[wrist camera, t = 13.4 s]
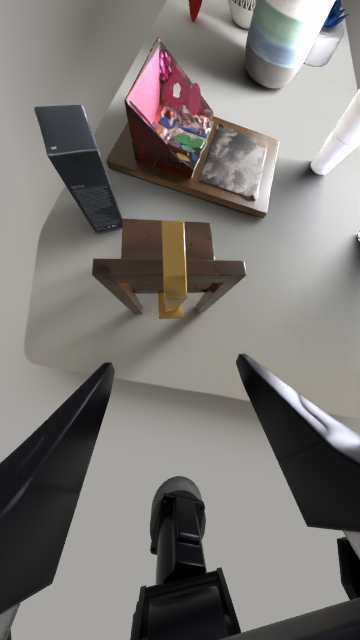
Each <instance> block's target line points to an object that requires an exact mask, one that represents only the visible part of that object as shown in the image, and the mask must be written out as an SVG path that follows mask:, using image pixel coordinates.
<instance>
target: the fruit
mask: <svg viewBox="0 0 360 640" xmlns="http://www.w3.org/2000/svg"><path fill="white" fill-rule="evenodd" d="M201 3H202V0H189V7H190V15H191V19H192V20H193V21H195V20H196V18H197V15H198V13H199V10H200V7H201Z"/></svg>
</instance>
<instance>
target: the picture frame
mask: <svg viewBox="0 0 360 640" xmlns="http://www.w3.org/2000/svg"><path fill="white" fill-rule="evenodd" d="M177 82H178V83H179V84H180V86H181V91H180V94H181V95H180V97H179V98H176V97H175V96H174V94H173V86H174V85H175V84H176V83H177ZM125 106H126V112H127V118H128V123H127V124H126V126H125V128H124V130H123V131H122V133H121V135H120V137H119V139H118V140H117V142H116V144H115V146H114V148H113V149H112V151H111V153H110V154H109V156H108V158H107V160H106V162H107V165H108V168H111V169H114V170H117V171H120V172H123V173H126V174H129V175H132V176H135V177H139V178H142V179H144V180H148V181H151V182H154V183H157V184H160V185H163V186H166V187H169V188H172V189H175V190H178V191H181V192H185V193H187V194H191V195H194V196H196V197H200V198H203V199H206V200H209V201H212V202H215V203H218V204H221V205H224V206H227V207H230V208H233V209H237V210H239V211H243V212H246V213H248V214H252V215H254V216H258V217H261V218H264V217H265V215H266V214H267V209H268V203H269V197H270V191H271V185H272V180H273V173H274V168H275V162H276V157H277V151H278V145H279V140H276V139H274V138H271V137H268V136H266V135H263V134H260V133H257V132H255V131H252V130H249V129H247V128H244V127H241V126H239V125H236V124H233V123H230V122H228V121H225V120H222V119H219V118H217V117H214V116H213V111H212V109H211V108H210V107H209V105H208V104H207V103H206V101H205V100H204V99H203V97H202V96H201V93H200V88H199V85H198V84H197V83H195V84H193V83H192V82H191V81H190V79H189V78H188V76H187V74H186V73H185V72H184V71H183V69H182V68H181V66H179V64H178V63H177V61H176V60H175V59H174V57H173V56H172V55H171V53H170V52H169V51H168V49H167V48H166V47H165V45H164V44H163V43H162V42H161V41H160V39H159V37H158V38H157V40H156V42H155V43H154V44H153V47H152V49H151V50H150V53H149V55H148V57H147V59H146V61H145V63H144V65H143V67H142V68H141V70H140V72H139V74H138V76H137V78H136V80H135V82H134V84H133V86H132V88H131V90H130V91H129V93H128V95H127V97H126V99H125Z"/></svg>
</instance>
